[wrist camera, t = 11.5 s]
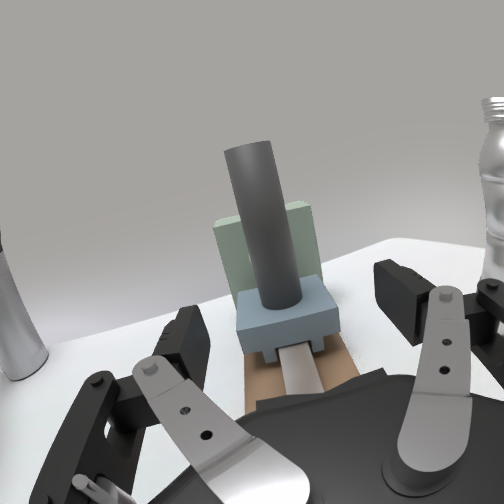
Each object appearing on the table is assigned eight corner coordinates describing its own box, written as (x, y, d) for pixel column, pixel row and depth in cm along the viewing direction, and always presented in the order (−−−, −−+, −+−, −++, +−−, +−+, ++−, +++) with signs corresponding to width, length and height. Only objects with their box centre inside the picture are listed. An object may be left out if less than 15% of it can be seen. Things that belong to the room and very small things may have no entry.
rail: (250, 493, 12) (236, 476, 11) (246, 328, 31) (239, 306, 30) (394, 458, 11) (402, 435, 10) (323, 310, 30) (320, 287, 30)
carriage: (248, 366, 22) (186, 157, 17) (246, 324, 28) (202, 160, 24) (341, 344, 21) (307, 130, 17) (321, 306, 28) (290, 140, 23)
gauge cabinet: (241, 331, 30) (212, 229, 27) (242, 310, 35) (217, 219, 32) (328, 311, 30) (311, 206, 27) (317, 292, 35) (301, 200, 31)
